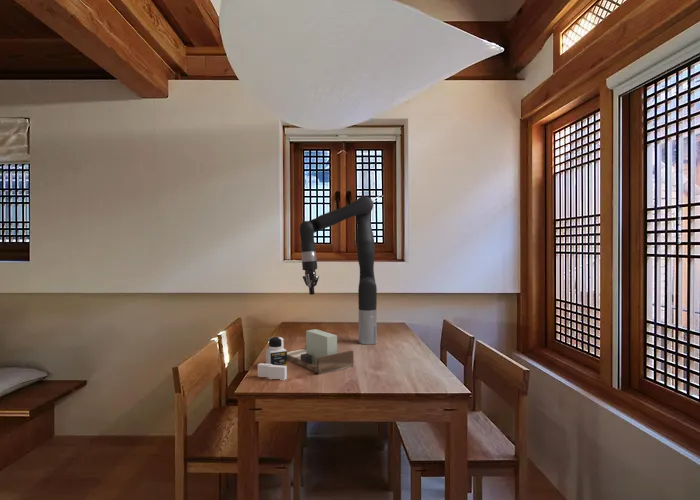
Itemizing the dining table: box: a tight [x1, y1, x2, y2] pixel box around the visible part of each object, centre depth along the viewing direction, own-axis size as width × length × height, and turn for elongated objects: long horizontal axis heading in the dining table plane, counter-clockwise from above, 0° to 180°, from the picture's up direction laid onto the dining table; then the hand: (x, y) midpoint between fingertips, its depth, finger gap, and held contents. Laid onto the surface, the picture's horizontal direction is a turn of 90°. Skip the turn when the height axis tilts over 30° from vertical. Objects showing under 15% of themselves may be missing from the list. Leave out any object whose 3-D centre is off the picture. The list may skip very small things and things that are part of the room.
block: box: [305, 328, 338, 364], centre depth 180 cm, size 16×5×13 cm, turn 38°
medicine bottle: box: [265, 336, 288, 367], centre depth 178 cm, size 7×7×12 cm
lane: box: [287, 348, 354, 375], centre depth 186 cm, size 36×17×6 cm, turn 38°
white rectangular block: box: [257, 362, 288, 381], centre depth 164 cm, size 15×11×6 cm
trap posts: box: [301, 353, 312, 364], centre depth 183 cm, size 4×15×4 cm, turn 128°
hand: (311, 294), depth 215 cm, fingers closed
